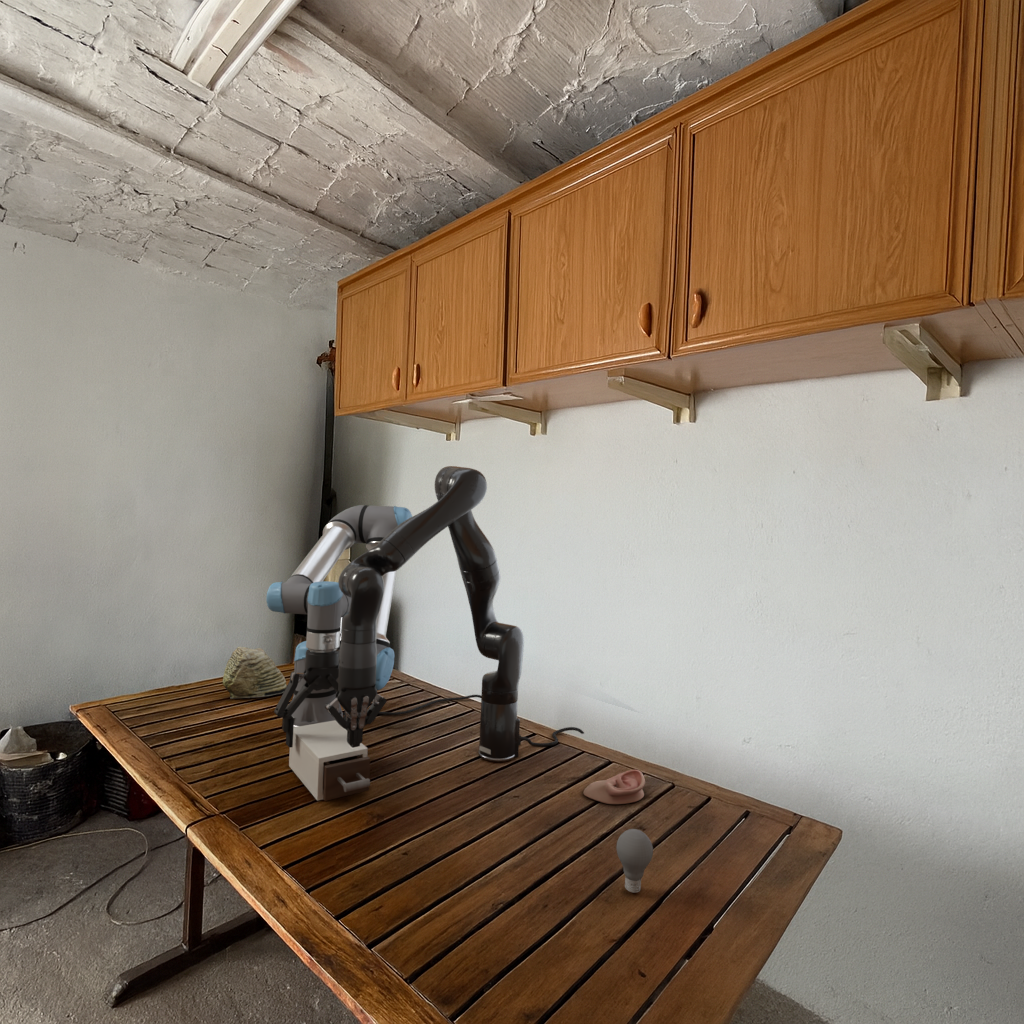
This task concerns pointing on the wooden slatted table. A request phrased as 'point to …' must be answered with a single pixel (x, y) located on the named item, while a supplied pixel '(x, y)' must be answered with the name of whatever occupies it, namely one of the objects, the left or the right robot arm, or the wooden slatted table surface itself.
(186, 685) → the wooden slatted table surface
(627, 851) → the light bulb
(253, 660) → the fossil
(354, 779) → the drawer
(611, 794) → the anatomical model
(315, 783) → the cabinet
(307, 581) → the left robot arm
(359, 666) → the right robot arm
